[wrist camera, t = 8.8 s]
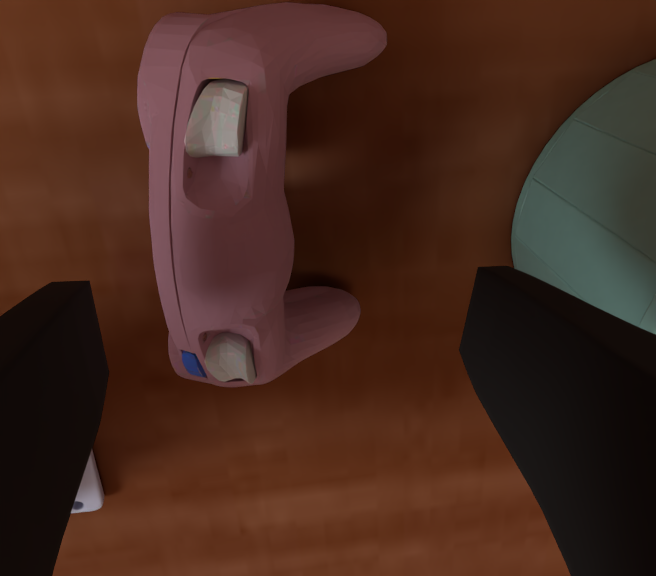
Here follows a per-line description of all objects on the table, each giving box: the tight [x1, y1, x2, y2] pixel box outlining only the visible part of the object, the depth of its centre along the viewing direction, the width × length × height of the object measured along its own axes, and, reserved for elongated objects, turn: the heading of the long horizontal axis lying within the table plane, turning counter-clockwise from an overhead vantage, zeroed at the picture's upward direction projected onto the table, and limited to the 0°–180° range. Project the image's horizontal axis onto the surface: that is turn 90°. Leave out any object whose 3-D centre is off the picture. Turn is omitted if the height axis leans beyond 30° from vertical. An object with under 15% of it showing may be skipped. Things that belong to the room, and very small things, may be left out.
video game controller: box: [137, 2, 387, 387], centre depth 14 cm, size 10×5×7 cm, turn 177°
